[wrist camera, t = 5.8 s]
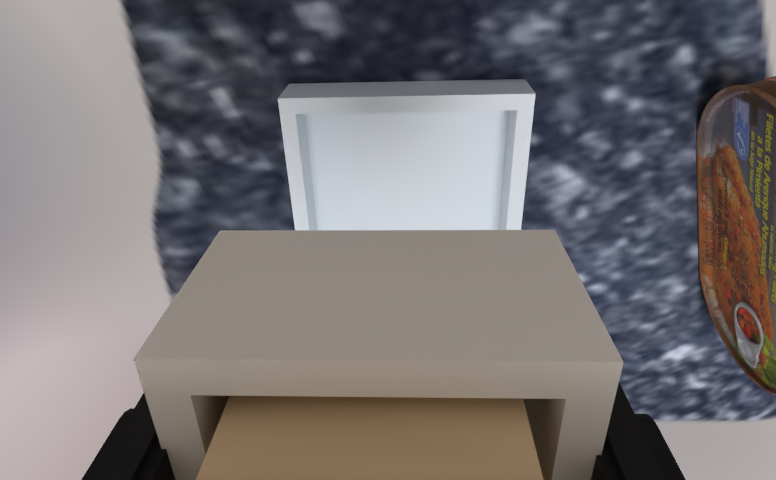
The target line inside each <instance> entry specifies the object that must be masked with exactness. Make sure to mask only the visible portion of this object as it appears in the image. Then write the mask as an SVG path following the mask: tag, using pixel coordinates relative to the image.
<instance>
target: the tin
mask: <svg viewBox="0 0 776 480" xmlns="http://www.w3.org/2000/svg"><path fill="white" fill-rule="evenodd" d="M697 192H698V239H699V272H700V280H701V285H702V289H703V293H704V297H705V301H706V304H707V307H708V310H709V313H710V316H711V318H712V320H713V322H714V325H715V327H716V329H717V331H718V333H719V335H720V337H721V339H722V340H723V342H724V344H725V346H726V347H727V349H728V350H729V352H730V354H731V355H732V357H733V358H734V360H735V361H736V363H737V364H738V365H739V366H740V368H741V369H742V370H743V371H744V372H745V373H746V375H747V376H748V377H749V378H750V379H751V380H753V381H754V382H755V383H756V384H757V385H758V386H760V387H761V388H762V389H764V390H765V391H767V392H769V393H771V394H774V395H776V76H775V77H771V78H767V79H763V80H760V81H756V82H753V83H749V84H746V85H732V86H729V87H726V88H724V89H722V90H720V91H719V92H717V93H716V94H715V95H714V96H713V97H712V98H711V99H710V101H709V102H708V104H707V105H706V107H705V109H704V111H703V113H702V116H701V119H700V122H699V127H698V132H697Z"/></svg>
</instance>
